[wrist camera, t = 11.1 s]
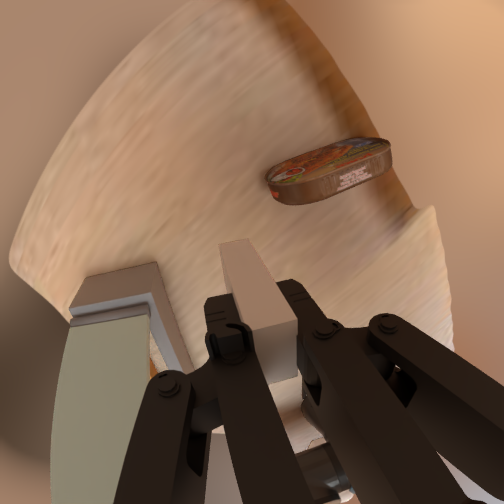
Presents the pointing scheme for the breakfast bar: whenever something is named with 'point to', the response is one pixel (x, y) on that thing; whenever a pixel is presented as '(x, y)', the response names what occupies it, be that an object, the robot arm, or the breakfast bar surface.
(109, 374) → the cover
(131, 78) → the breakfast bar surface
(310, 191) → the tin
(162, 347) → the grey u-shaped bracket
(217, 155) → the breakfast bar surface
